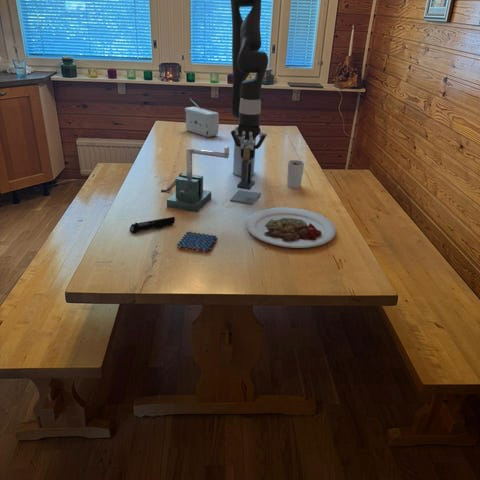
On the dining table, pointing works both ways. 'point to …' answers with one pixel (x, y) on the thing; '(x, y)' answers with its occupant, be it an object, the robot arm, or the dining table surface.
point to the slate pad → (245, 197)
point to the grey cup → (295, 173)
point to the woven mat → (197, 242)
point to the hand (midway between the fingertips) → (247, 158)
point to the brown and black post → (246, 170)
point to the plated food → (290, 227)
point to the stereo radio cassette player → (202, 121)
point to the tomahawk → (170, 186)
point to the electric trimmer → (151, 224)
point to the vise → (192, 185)
